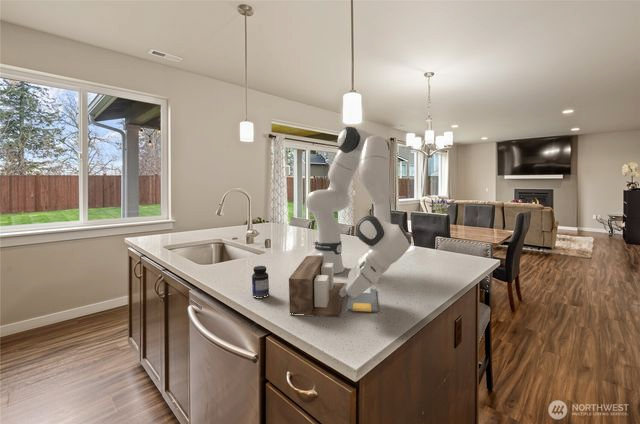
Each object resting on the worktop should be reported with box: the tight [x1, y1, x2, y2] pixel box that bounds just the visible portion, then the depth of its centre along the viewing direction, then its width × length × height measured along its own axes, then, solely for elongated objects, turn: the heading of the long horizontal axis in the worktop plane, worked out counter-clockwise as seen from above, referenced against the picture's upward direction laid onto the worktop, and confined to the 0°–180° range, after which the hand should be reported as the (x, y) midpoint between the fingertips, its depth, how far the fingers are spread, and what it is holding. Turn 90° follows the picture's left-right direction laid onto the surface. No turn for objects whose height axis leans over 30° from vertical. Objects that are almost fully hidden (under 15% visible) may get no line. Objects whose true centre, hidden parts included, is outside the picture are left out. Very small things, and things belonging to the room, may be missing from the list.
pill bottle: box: [251, 265, 270, 297], centre depth 114 cm, size 6×6×11 cm
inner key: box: [321, 263, 335, 290], centre depth 118 cm, size 4×6×9 cm, turn 172°
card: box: [346, 287, 378, 313], centre depth 109 cm, size 10×22×1 cm, turn 171°
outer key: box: [314, 275, 329, 308], centre depth 102 cm, size 4×6×9 cm, turn 172°
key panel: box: [288, 255, 346, 318], centre depth 110 cm, size 16×30×12 cm, turn 171°
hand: (340, 294), depth 102 cm, fingers closed
